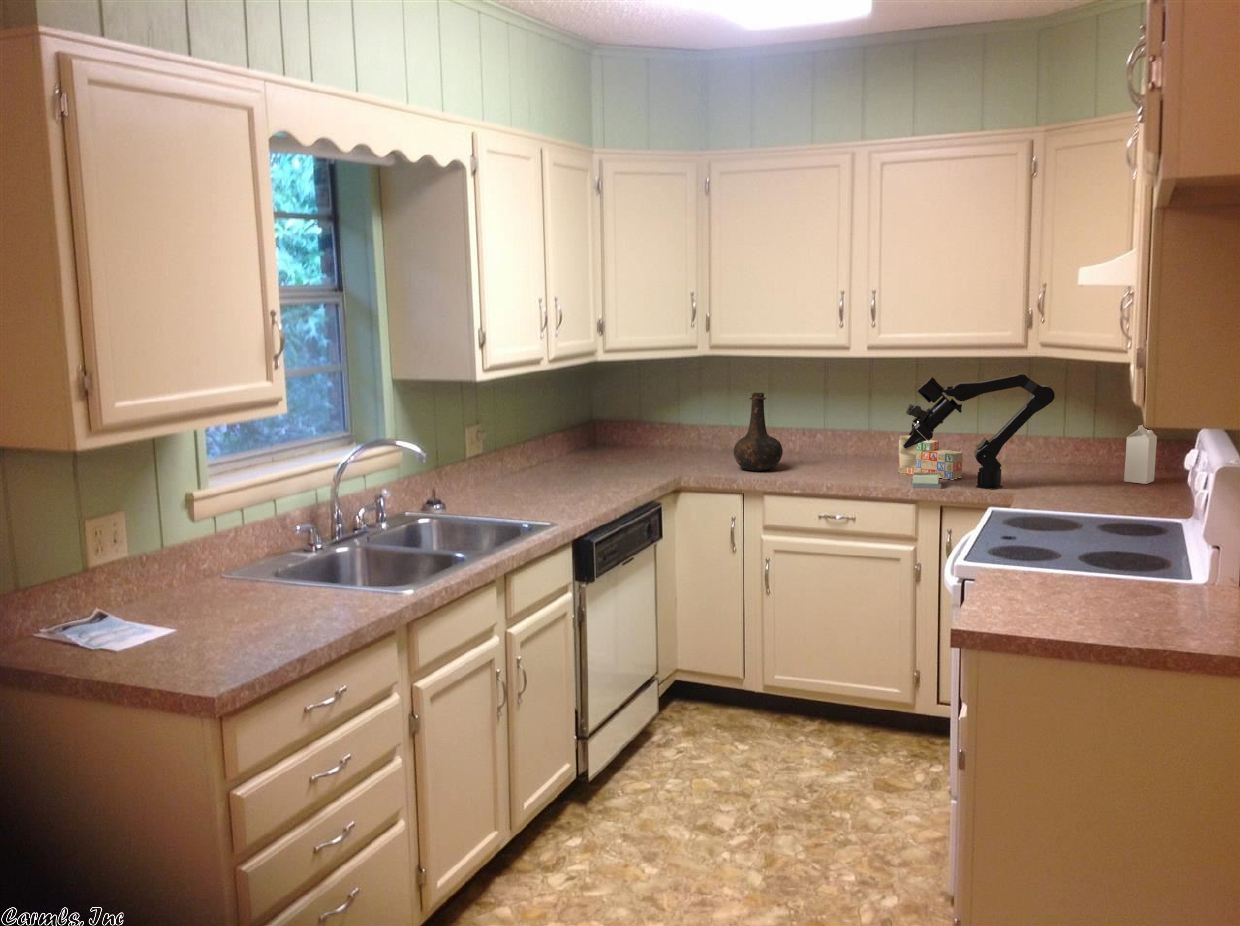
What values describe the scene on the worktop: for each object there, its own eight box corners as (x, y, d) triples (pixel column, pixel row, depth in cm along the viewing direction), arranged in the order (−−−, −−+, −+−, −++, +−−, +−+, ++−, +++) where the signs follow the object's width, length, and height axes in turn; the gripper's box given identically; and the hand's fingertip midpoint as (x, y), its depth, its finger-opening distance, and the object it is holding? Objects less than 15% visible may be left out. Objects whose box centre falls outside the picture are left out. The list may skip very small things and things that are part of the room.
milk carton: (1123, 481, 357) (1127, 425, 354) (1131, 478, 362) (1135, 422, 359) (1146, 484, 352) (1150, 426, 349) (1154, 481, 357) (1157, 424, 354)
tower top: (938, 479, 359) (938, 473, 359) (938, 483, 352) (938, 477, 351) (913, 478, 361) (914, 472, 361) (912, 482, 354) (912, 476, 354)
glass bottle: (760, 475, 381) (760, 396, 376) (723, 469, 394) (723, 393, 389) (792, 469, 392) (793, 392, 388) (756, 463, 406) (756, 389, 401)
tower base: (939, 485, 360) (939, 479, 360) (941, 490, 352) (941, 484, 351) (911, 485, 362) (911, 478, 362) (912, 490, 353) (912, 483, 353)
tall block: (915, 465, 359) (915, 435, 357) (916, 467, 354) (916, 437, 352) (899, 465, 360) (899, 435, 358) (900, 467, 355) (900, 437, 354)
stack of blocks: (962, 478, 369) (963, 443, 367) (952, 481, 364) (953, 445, 362) (907, 471, 384) (908, 437, 382) (897, 473, 380) (898, 439, 378)
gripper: (919, 392, 361) (885, 425, 365) (922, 398, 343) (886, 433, 348) (943, 415, 361) (909, 448, 365) (948, 423, 343) (911, 457, 347)
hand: (903, 446), depth 356 cm, fingers closed on tall block, 5 cm apart
